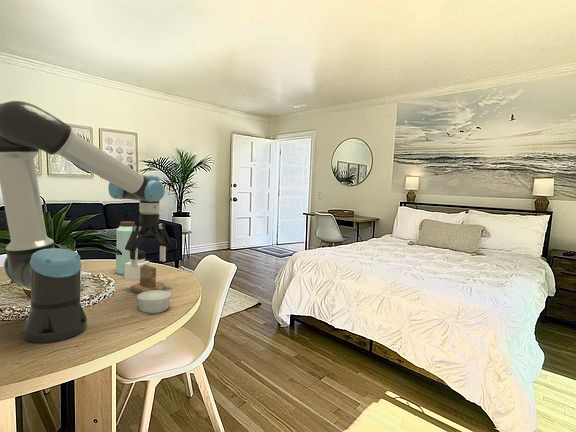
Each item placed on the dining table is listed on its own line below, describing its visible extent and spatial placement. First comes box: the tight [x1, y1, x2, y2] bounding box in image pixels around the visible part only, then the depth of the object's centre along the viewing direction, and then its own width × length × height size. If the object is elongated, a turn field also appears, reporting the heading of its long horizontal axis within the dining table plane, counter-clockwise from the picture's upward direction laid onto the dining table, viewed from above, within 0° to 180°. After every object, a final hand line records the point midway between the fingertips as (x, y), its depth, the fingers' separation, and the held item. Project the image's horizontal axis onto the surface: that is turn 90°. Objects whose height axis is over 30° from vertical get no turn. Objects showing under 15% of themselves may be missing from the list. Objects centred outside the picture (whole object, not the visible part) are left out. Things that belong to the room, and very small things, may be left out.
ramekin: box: [136, 290, 172, 315], centre depth 116 cm, size 11×11×5 cm
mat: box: [121, 285, 173, 296], centre depth 135 cm, size 14×14×1 cm
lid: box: [129, 265, 165, 294], centre depth 135 cm, size 13×13×9 cm
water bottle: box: [115, 221, 139, 276], centre depth 158 cm, size 10×10×25 cm
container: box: [124, 249, 150, 281], centre depth 151 cm, size 8×8×13 cm
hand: (149, 264), depth 135 cm, fingers open, 13 cm apart
